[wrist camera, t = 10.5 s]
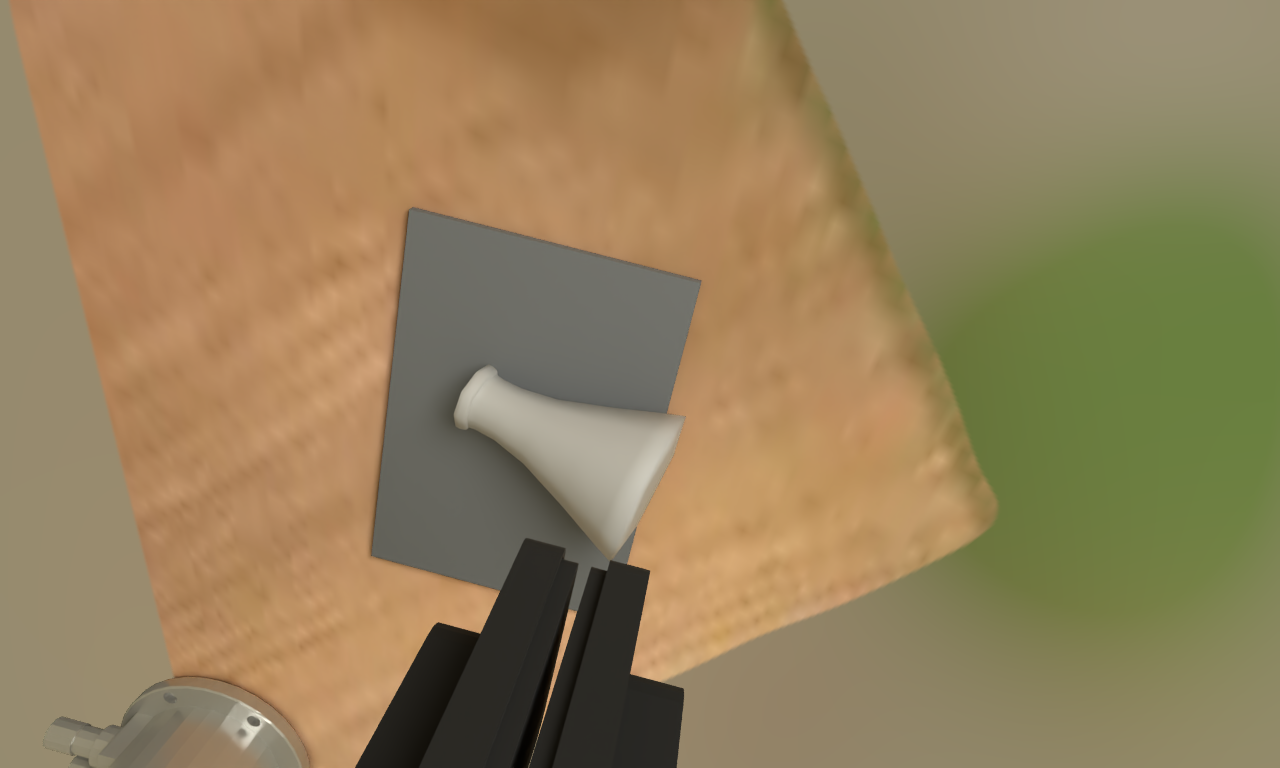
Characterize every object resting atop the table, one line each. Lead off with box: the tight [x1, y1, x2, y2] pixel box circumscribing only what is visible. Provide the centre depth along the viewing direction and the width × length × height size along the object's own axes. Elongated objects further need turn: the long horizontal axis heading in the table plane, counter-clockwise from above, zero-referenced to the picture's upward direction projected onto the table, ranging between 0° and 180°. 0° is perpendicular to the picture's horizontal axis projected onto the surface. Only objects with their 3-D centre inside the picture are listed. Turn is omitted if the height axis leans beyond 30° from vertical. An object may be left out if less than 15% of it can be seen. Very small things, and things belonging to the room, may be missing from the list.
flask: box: [454, 364, 686, 561], centre depth 40 cm, size 7×7×10 cm
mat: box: [371, 207, 701, 611], centre depth 43 cm, size 14×20×1 cm
